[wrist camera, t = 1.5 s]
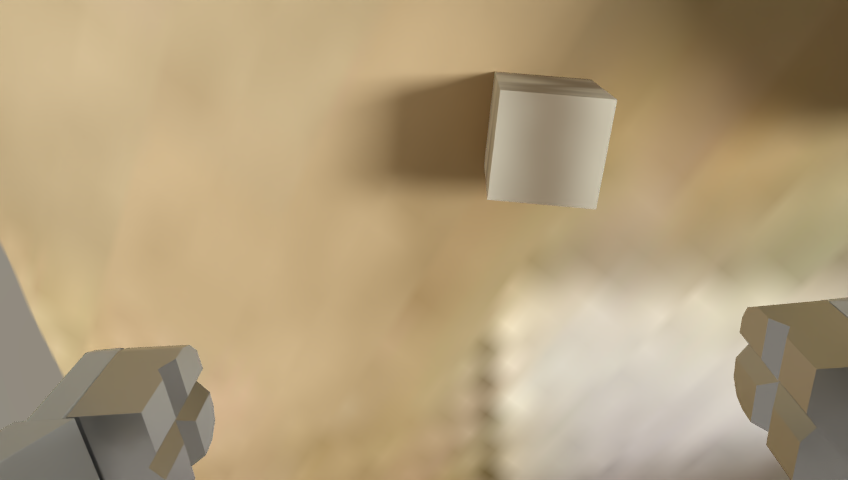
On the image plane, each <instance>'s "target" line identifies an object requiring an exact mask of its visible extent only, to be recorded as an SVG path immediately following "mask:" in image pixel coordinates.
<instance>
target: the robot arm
mask: <svg viewBox="0 0 848 480" xmlns="http://www.w3.org/2000/svg"><path fill="white" fill-rule="evenodd" d="M740 333H741V335H742V336H743V337H744V339H745V340H746V341H747V343H748V345H747V347H746V348H745V349H744V350H743V351H742V352H741V353H740V354H739V355H738V356H737V357H736V361H735V371H734V381H735V388H736V394H737V397H738V400H739V402H740V405H741V407H742V409H743V411H744V413H745V414H746V416H747V417H748V419H749V420H750V422H752V423H754V424H755V425H757V426H759V427H761V428H763V429H764V430H766V431H768V438H767V443H766V445H767V446H768V448H769V449H770V451H771V452H772V454H773V455H774V456H775V458H776V459H777V461H778V462H779V464H780V465H781V467H782V468H783V469H784V471H785V472H786V474H787V475H788V477H789V478H790V479H791V480H848V298H839V299H829V300H820V301H813V302H802V303H791V304H780V305H769V306H758V307H747V309H746V311H745V313H744V315H743V317H742V322H741V328H740ZM202 369H203V367H202V364H201V361H200V358H199V356H198V353H197V350H196V349H194V348H193V347H192V346H190V345H178V346H157V347H137V348H126V349H124V348H116V349H103V350H94V351H91V352H87V353H85V354H84V355H83V357H82V358H81V359H80V360H79V361H78V362H77V363H76V365H75V366H74V367H73V368H72V369H71V370H70V371H69V372H68V374H67V375H66V376H65V377H64V378H63V379H62V381H61V382H60V383H59V384H58V385H57V386H56V387H55V388H54V390H53V391H52V392H51V393H50V394H49V395H48V396H47V398H46V399H45V400H44V401H43V402H42V403H41V404H40V406H39V407H38V408H37V409H36V410H35V411H34V412H33V413H32V415H31V416H30V417H29V418H28V419H27V421H22V422H14V423H12V424H10V425H8V426H7V427H5V428H3V429H1V430H0V480H195V476H194V473H193V470H192V465H194V464H195V463H196V462H197V461H199V460H200V459H201V458H203V457H204V456H205V455H206V453H207V451H208V449H209V446H210V444H211V441H212V437H213V430H214V424H215V417H214V406H213V402H212V398H211V395H210V392H209V391H208V390H207V389H205V388H204V387H203V386H202V385H201V384H199V383H198V382H197V379H198V377H199V375H200V373H201V371H202Z"/></svg>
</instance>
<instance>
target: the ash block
mask: <svg viewBox="0 0 848 480" xmlns="http://www.w3.org/2000/svg"><path fill="white" fill-rule="evenodd" d="M616 103H617V99H616V98H614V97H613V96H612V95H610V94H609V93H608V92H607V91H605V90H604V89H603V88H601V87H600V86H599V85H598V84H596V83H595V82H594V81H592V80H589V79H577V78H565V77H553V76H541V75H529V74H517V73H505V72H495V73H494V82H493V91H492V99H491V108H490V117H489V126H488V135H487V143H486V152H485V161H484V169H485V180H486V191H487V200H498V201H509V202H520V203H531V204H542V205H553V206H564V207H576V208H587V209H596V207H597V202H598V196H599V191H600V186H601V181H602V176H603V170H604V165H605V160H606V155H607V150H608V145H609V139H610V134H611V129H612V124H613V119H614V114H615V108H616Z"/></svg>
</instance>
